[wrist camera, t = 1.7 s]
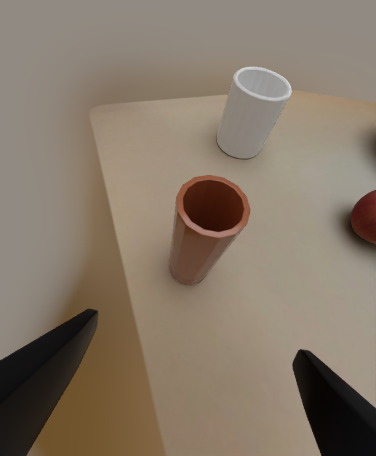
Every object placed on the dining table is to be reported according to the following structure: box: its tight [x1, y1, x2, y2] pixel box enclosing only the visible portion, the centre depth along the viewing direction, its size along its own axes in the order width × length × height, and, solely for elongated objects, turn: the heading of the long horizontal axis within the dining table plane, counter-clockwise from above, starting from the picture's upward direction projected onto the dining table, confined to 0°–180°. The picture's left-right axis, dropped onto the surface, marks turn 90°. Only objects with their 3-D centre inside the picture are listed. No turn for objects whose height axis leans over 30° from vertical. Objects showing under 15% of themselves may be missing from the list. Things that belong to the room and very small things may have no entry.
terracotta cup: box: [169, 175, 250, 285], centre depth 18 cm, size 5×5×13 cm
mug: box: [217, 67, 292, 159], centre depth 32 cm, size 8×12×10 cm, turn 154°
